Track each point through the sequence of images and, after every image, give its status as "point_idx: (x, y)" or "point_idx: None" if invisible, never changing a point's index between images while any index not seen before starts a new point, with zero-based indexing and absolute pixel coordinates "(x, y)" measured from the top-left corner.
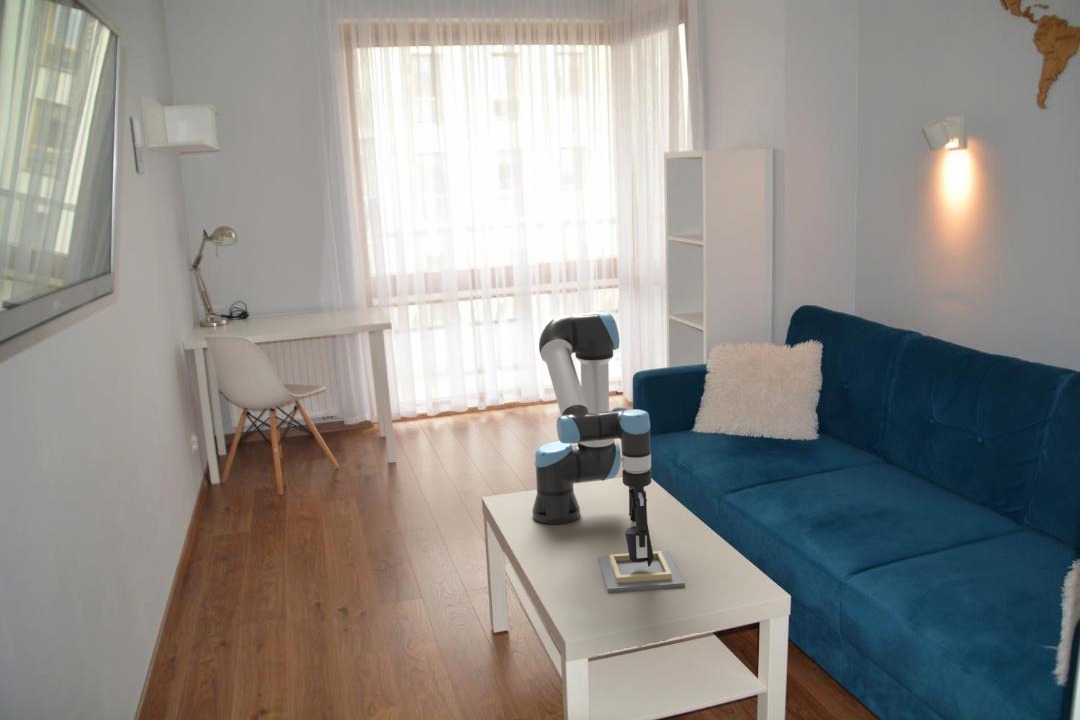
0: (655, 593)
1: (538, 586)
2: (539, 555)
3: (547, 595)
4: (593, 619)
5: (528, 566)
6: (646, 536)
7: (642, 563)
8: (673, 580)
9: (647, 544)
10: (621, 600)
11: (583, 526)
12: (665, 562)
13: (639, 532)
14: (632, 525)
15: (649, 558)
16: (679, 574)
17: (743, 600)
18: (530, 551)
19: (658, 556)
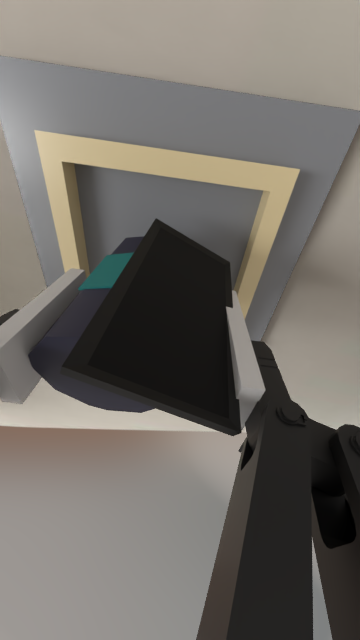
0: (322, 260)
1: (174, 430)
2: (50, 410)
3: (211, 428)
4: (337, 401)
5: (96, 427)
6: (260, 375)
7: (120, 243)
8: (306, 165)
9: (194, 300)
10: (300, 347)
11: None
12: (172, 155)
13: (346, 497)
14: (32, 381)
15: (208, 265)
16: (268, 104)
17: None
18: (33, 416)
19: (89, 164)
